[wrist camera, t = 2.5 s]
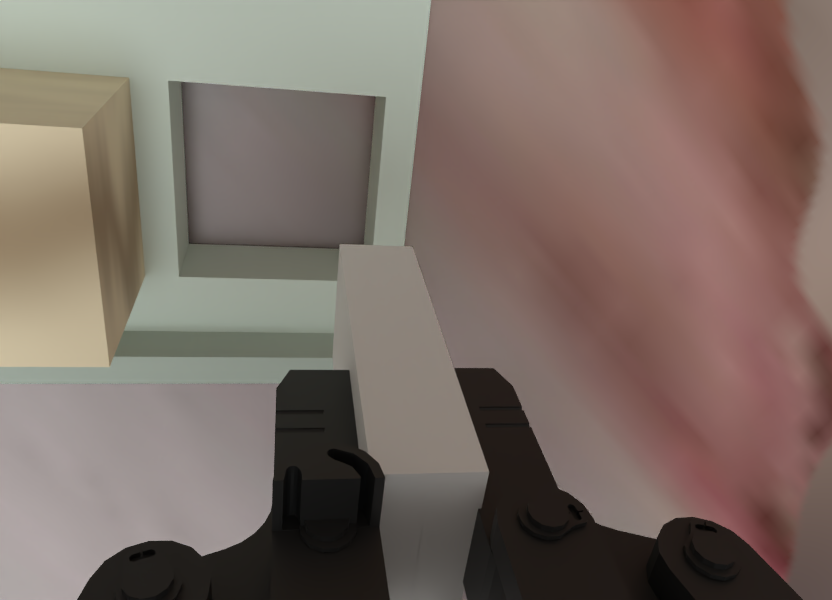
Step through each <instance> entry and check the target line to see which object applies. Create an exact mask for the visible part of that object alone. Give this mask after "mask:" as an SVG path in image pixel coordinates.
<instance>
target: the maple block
mask: <svg viewBox="0 0 832 600" xmlns="http://www.w3.org/2000/svg"><path fill="white" fill-rule="evenodd" d="M144 278H145V267H144V255H143V242H142V230H141V218H140V205H139V193H138V181H137V168H136V156H135V144H134V131H133V119H132V107H131V95H130V82H129V78H128V77H114V76H101V75H88V74H75V73H61V72H48V71H35V70H22V69H8V68H0V367H110V365H111V362H112V360H113V357H114V355H115V352H116V350H117V347H118V345H119V342H120V339H121V337H122V334H123V332H124V329H125V327H126V324H127V321H128V319H129V316H130V314H131V311H132V309H133V306H134V303H135V301H136V298H137V296H138V293H139V291H140V288H141V286H142V283H143V280H144Z"/></svg>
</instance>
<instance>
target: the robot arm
mask: <svg viewBox="0 0 832 600" xmlns="http://www.w3.org/2000/svg"><path fill="white" fill-rule="evenodd" d="M332 357H333V369H334V370H289V372H288V373H287V374H286V376H285V377H284V379H283V380H282V381H281V383H280V384H279V386H278V387H277V390H276V424H275V458H274V478H273V497H272V509H271V512H270V514H269V516H268V518H267V519H266V521H265V523H264V524H263V525H262V526H261V527H260V528H259V529H258V530H257V531H256V532H255V533H254V534H253V535H251V536H250V537H249V538H247V539H246V540H244V541H243V542H241V543H239V544H236V545H234V546H231V547H229V548H227V549H224V550H221V551H218V552H214V553H211V554H208V555H205V556H201V555H200V554H198V553H197V552H196V551H195V550H194V549H193V548H192V547H189V546H186V545H183V544H180V543H177V542H174V541H147V542H144V543H141V544H137V545H134V546H131V547H127V548H125V549H123V550H122V551H120V552H119V553H117V554H115V555H114V556H112V557H111V558H109V559H107V560H106V561H105V562H104V563H103V564H102V565H101V566H100V567H99V568H98V570H97V571H96V572H95V573H94V574H93V575H92V577H91V578H90V579H89V581H88V582H87V584H86V586H85V587H84V589H83V591H82V593H81V594H80V596H79V598H78V599H77V600H462V597H463V592H464V589H465V593H466V597H467V600H803V599H802V598H801V597H800V596H799V595H798V594H797V593H796V592H795V591H794V590H793V589H792V588H791V587H790V586H789V585H788V584H787V583H786V582H785V581H784V580H783V579H782V578H781V577H780V576H779V575H778V574H777V573H776V572H775V571H774V570H773V569H772V568H771V567H770V566H769V565H768V564H767V563H766V562H765V561H764V560H763V559H762V558H761V557H760V556H759V555H758V554H757V553H756V552H755V551H754V549H753V548H752V547H751V546H750V545H749V544H747V543H746V542H745V541H744V540H742V539H741V538H740V537H739V536H737V535H736V534H735V533H734V532H732V531H731V530H729V529H727V528H725V527H723V526H721V525H718V524H716V523H714V522H712V521H708V520H704V519H699V518H695V517H687V518H675V519H673V520H672V521H670V522H668V523H666V524H664V525H663V527H662V529H661V531H660V533H659V535H658V537H657V539H653V538H649V537H644V536H640V535H635V534H631V533H627V532H622V531H618V530H614V529H611V528H608V527H605V526H601V525H599V524H597V523H595V521H594V519H593V517H592V516H591V515H590V513H589V512H588V510H587V509H586V508H585V506H584V505H583V504H582V503H581V502H579V501H578V500H577V499H575V498H574V497H573V496H571V495H570V494H569V493H567V492H564V491H562V490H559V489H558V487H557V484H556V482H555V480H554V478H553V475H552V473H551V471H550V469H549V466H548V464H547V462H546V460H545V458H544V455H543V453H542V451H541V449H540V446H539V444H538V442H537V440H536V437H535V435H534V433H533V431H532V428H531V427H529V422H528V419H527V417H526V415H525V413H524V410H522V406H521V404H520V401H519V399H518V397H517V395H516V392H515V390H514V388H513V386H512V385H511V384H510V383H509V382H508V381H507V380H506V379H504V378H503V377H502V376H501V375H500V374H499V373H498V372H497V371H496V370H495V369H494V368H454V367H453V364H452V361H451V358H450V355H449V352H448V349H447V346H446V343H445V340H444V337H443V334H442V331H441V328H440V326H439V323H438V320H437V317H436V314H435V311H434V308H433V305H432V302H431V299H430V296H429V293H428V290H427V287H426V284H425V281H424V278H423V275H422V273H421V270H420V267H419V264H418V261H417V258H416V255H415V252H414V249H413V247H409V246H381V245H353V244H340V246H339V261H338V277H337V293H336V308H335V324H334V339H333V355H332Z"/></svg>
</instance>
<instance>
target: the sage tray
mask: <svg viewBox="0 0 832 600" xmlns="http://www.w3.org/2000/svg"><path fill="white" fill-rule="evenodd" d="M430 6H431V0H0V68H8V69H22V70H35V71H48V72H61V73H75V74H88V75H101V76H114V77H128V78H129V82H130V95H131V107H132V119H133V131H134V144H135V156H136V168H137V181H138V193H139V205H140V218H141V230H142V242H143V255H144V267H145V278H144V280H143V283H142V286H141V288H140V291H139V293H138V296H137V298H136V301H135V303H134V306H133V309H132V311H131V314H130V316H129V319H128V321H127V324H126V327H125V329H124V332H123V334H122V337H121V339H120V342H119V345H118V347H117V350H116V352H115V355H114V357H113V360H112V362H111V365H110V367H0V384H280V383H281V381H282V380H283V379H284V377H285V376H286V374H287V373H288V372H289V370H334V369H333V357H332V355H333V339H334V324H335V308H336V293H337V277H338V261H339V249H329V248H300V247H271V246H242V245H213V244H189V236H188V215H187V194H186V172H185V151H184V130H183V109H182V88H181V82H194V83H207V84H221V85H234V86H247V87H260V88H274V89H287V90H300V91H313V92H327V93H340V94H353V95H366V96H376V97H375V110H374V122H373V134H372V147H371V159H370V172H369V184H368V197H367V209H366V221H365V234H364V245H381V246H404V242H405V233H406V224H407V215H408V206H409V197H410V188H411V179H412V170H413V161H414V152H415V143H416V133H417V124H418V115H419V106H420V97H421V88H422V79H423V70H424V61H425V52H426V43H427V34H428V24H429V15H430Z"/></svg>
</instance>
